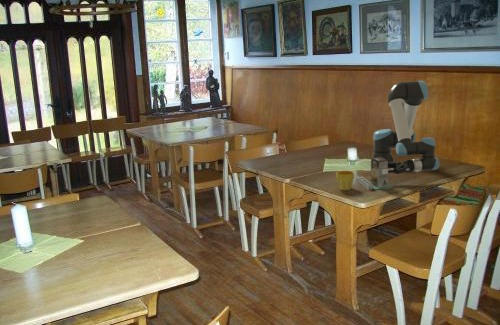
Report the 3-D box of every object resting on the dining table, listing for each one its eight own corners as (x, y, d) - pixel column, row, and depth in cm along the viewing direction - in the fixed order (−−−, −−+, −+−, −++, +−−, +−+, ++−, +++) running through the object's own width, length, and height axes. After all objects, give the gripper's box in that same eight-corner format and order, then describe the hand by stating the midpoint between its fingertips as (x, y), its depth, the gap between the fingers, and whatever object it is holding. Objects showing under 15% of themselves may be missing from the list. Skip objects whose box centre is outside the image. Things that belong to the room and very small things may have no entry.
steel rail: (361, 180, 310) (361, 175, 309) (373, 189, 291) (373, 184, 290) (356, 181, 310) (356, 176, 309) (368, 190, 290) (368, 184, 290)
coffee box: (370, 184, 300) (370, 158, 296) (380, 182, 301) (380, 156, 297) (378, 188, 291) (378, 161, 287) (388, 186, 293) (388, 159, 289)
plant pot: (334, 187, 301) (334, 171, 298) (351, 185, 301) (351, 169, 299) (339, 192, 290) (338, 175, 288) (356, 190, 291) (356, 174, 289)
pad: (383, 182, 303) (383, 181, 303) (391, 188, 291) (391, 187, 291) (367, 184, 302) (367, 183, 301) (375, 189, 290) (375, 189, 290)
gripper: (421, 177, 285) (386, 180, 283) (403, 166, 309) (370, 170, 307) (422, 164, 283) (385, 167, 281) (403, 155, 307) (369, 158, 305)
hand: (377, 169), depth 294 cm, fingers open, 13 cm apart
